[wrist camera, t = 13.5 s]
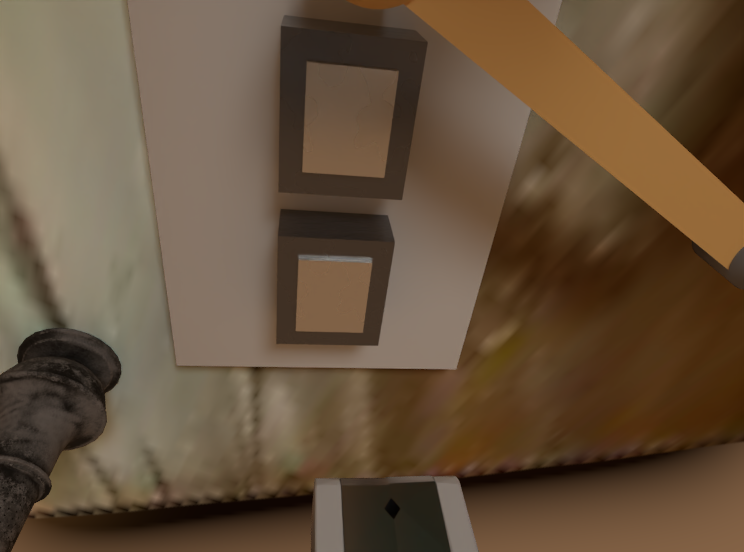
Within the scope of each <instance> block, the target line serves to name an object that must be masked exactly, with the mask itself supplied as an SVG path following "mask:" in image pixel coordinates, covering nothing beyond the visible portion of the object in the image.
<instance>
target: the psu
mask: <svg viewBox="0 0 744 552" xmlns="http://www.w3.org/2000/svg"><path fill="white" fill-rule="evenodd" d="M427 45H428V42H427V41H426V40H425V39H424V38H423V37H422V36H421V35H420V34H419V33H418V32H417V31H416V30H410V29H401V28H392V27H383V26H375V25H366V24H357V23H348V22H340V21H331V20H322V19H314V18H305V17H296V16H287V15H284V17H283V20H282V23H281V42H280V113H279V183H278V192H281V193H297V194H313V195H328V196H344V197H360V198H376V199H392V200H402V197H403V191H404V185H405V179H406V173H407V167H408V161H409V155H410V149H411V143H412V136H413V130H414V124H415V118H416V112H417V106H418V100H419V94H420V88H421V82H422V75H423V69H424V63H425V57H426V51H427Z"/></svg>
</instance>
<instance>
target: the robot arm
mask: <svg viewBox="0 0 744 552" xmlns="http://www.w3.org/2000/svg"><path fill="white" fill-rule="evenodd" d="M311 552H478V548H477V544H476V541H475V537H474V534H473V530H472V526H471V523H470V519H469V515H468V511H467V508H466V504H465V500H464V497H463V493H462V490H461V486H460V482H459V480H458V479H457V477H455V476H435V477H431V476H413V477H386V478H340V479H339V478H316V479H315V482H314V494H313V507H312V526H311Z"/></svg>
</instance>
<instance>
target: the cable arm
mask: <svg viewBox="0 0 744 552" xmlns="http://www.w3.org/2000/svg"><path fill="white" fill-rule="evenodd" d="M346 1H348V2H350V3H352V4H354V5H357V6H360V7H363V8H369V9H388V8H393V7H396V6H400V5H402V4H404V5H405V6H406V7H407V8H409V9H410V10H411V11H412V12H414V13H415V14H416V15H417V16H418V17H420V18H421V19H422V20H423V21H425V22H426V23H427V24H428V25H429V26H431V27H432V28H433V29H434V30H436V31H437V32H438V33H439V34H440V35H442V36H443V37H444V38H445V39H447V40H448V41H449V42H450V43H451V44H453V45H454V46H455V47H456V48H458V49H459V50H460V51H461V52H462V53H464V54H465V55H466V56H467V57H469V58H470V59H471V60H472V61H473V62H475V63H476V64H477V65H478V66H480V67H481V68H482V69H483V70H484V71H486V72H487V73H488V74H489V75H491V76H492V77H493V78H494V79H495V80H497V81H498V82H499V83H500V84H502V85H503V86H504V87H505V88H506V89H508V90H509V91H510V92H511V93H513V94H514V95H515V96H516V97H517V98H519V99H520V100H521V101H522V102H524V103H525V104H526V105H527V106H528V107H530V108H531V109H532V110H533V111H535V112H536V113H537V114H538V115H539V116H541V117H542V118H543V119H544V120H546V121H547V122H548V123H549V124H550V125H552V126H553V127H554V128H555V129H557V130H558V131H559V132H560V133H561V134H563V135H564V136H565V137H566V138H568V139H569V140H570V141H571V142H572V143H574V144H575V145H576V146H577V147H579V148H580V149H581V150H582V151H583V152H585V153H586V154H587V155H588V156H590V157H591V158H592V159H593V160H594V161H596V162H597V163H598V164H599V165H601V166H602V167H603V168H604V169H605V170H607V171H608V172H609V173H610V174H612V175H613V176H614V177H615V178H616V179H618V180H619V181H620V182H621V183H623V184H624V185H625V186H626V187H627V188H629V189H630V190H631V191H632V192H634V193H635V194H636V195H637V196H638V197H640V198H641V199H642V200H643V201H645V202H646V203H647V204H648V205H649V206H651V207H652V208H653V209H654V210H656V211H657V212H658V213H659V214H660V215H662V216H663V217H664V218H665V219H667V220H668V221H669V222H670V223H671V224H673V225H674V226H675V227H676V228H678V229H679V230H680V231H681V232H682V233H684V234H685V235H686V236H687V237H689V238H690V239H691V240H692V248H693V250H694V252H695V253H696V254H697V255H699V256H700V257H701V258H702V259H703V260H705V261H706V262H707V263H708V264H709V265H710V266H712V267H713V268H714V269H715V270H716V271H718V272H719V273H720V274H721V275H722V276H724V277H725V278H726V279H727V280H728V281H729V282H731V283H732V284H733V285H734V286H736V287H737V288H740V289H744V203H743V202H742V201H741V200H740V199H739V198H738V197H737V196H736V195H735V194H734V193H733V192H731V191H730V190H729V189H728V188H727V187H726V186H725V185H724V184H723V183H722V182H721V181H720V180H719V179H718V178H717V177H715V176H714V175H713V174H712V173H711V172H710V171H709V170H708V169H707V168H706V167H705V166H704V165H703V164H702V163H701V162H699V161H698V160H697V159H696V158H695V157H694V156H693V155H692V154H691V153H690V152H689V151H688V150H687V149H686V148H685V147H683V146H682V145H681V144H680V143H679V142H678V141H677V140H676V139H675V138H674V137H673V136H672V135H671V134H670V133H669V132H668V131H666V130H665V129H664V128H663V127H662V126H661V125H660V124H659V123H658V122H657V121H656V120H655V119H654V118H653V117H652V116H650V115H649V114H648V113H647V112H646V111H645V110H644V109H643V108H642V107H641V106H640V105H639V104H638V103H637V102H636V101H634V100H633V99H632V98H631V97H630V96H629V95H628V94H627V93H626V92H625V91H624V90H623V89H622V88H621V87H620V86H618V85H617V84H616V83H615V82H614V81H613V80H612V79H611V78H610V77H609V76H608V75H607V74H606V73H605V72H604V71H602V70H601V69H600V68H599V67H598V66H597V65H596V64H595V63H594V62H593V61H592V60H591V59H590V58H589V57H588V56H587V55H585V54H584V53H583V52H582V51H581V50H580V49H579V48H578V47H577V46H576V45H575V44H574V43H573V42H572V41H571V40H569V39H568V38H567V37H566V36H565V35H564V34H563V33H562V32H561V31H560V30H559V29H558V28H557V27H556V26H555V25H553V24H552V23H551V22H550V21H549V20H548V19H547V18H546V17H545V16H544V15H543V14H542V13H541V12H540V11H539V10H537V9H536V8H535V7H534V6H533V5H532V4H531V3H530V2H529V1H528V0H346Z"/></svg>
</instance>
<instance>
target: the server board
mask: <svg viewBox="0 0 744 552" xmlns="http://www.w3.org/2000/svg"><path fill="white" fill-rule="evenodd" d="M528 1H529V2H530V3H531V4H532V5H533V6H534V7H535V8H536V9H537V10H539V11H540V12H541V13H542V14H543V15H544V16H545V17H546V18H547V19H548V20H549V21H550V22H551V23H552V24H553V25H555V24H556V20H557V17H558V13H559V10H560V6H561V3H562V0H528ZM127 2H128V10H129V17H130V25H131V32H132V39H133V47H134V54H135V61H136V69H137V76H138V83H139V91H140V98H141V106H142V113H143V120H144V128H145V135H146V142H147V150H148V157H149V164H150V172H151V179H152V187H153V194H154V201H155V209H156V216H157V223H158V231H159V238H160V246H161V253H162V260H163V268H164V275H165V282H166V290H167V297H168V304H169V312H170V319H171V327H172V334H173V341H174V349H175V356H176V363H177V366H242V367H319V368H395V369H456V367H457V364H458V360H459V357H460V354H461V350H462V347H463V343H464V340H465V336H466V333H467V329H468V326H469V322H470V319H471V315H472V312H473V308H474V305H475V301H476V298H477V295H478V291H479V288H480V284H481V281H482V277H483V274H484V270H485V267H486V263H487V260H488V256H489V253H490V249H491V246H492V242H493V239H494V236H495V232H496V229H497V225H498V222H499V218H500V215H501V211H502V208H503V204H504V201H505V197H506V194H507V190H508V187H509V183H510V180H511V177H512V173H513V170H514V166H515V163H516V159H517V156H518V152H519V149H520V145H521V142H522V138H523V135H524V131H525V128H526V124H527V121H528V118H529V114H530V111H531V108H530V107H528V106H527V105H526V104H525V103H524V102H522V101H521V100H520V99H519V98H517V97H516V96H515V95H514V94H513V93H511V92H510V91H509V90H508V89H506V88H505V87H504V86H503V85H502V84H500V83H499V82H498V81H497V80H495V79H494V78H493V77H492V76H491V75H489V74H488V73H487V72H486V71H484V70H483V69H482V68H481V67H480V66H478V65H477V64H476V63H475V62H473V61H472V60H471V59H470V58H469V57H467V56H466V55H465V54H464V53H462V52H461V51H460V50H459V49H458V48H456V47H455V46H454V45H453V44H451V43H450V42H449V41H448V40H447V39H445V38H444V37H443V36H442V35H440V34H439V33H438V32H437V31H436V30H434V29H433V28H432V27H431V26H429V25H428V24H427V23H426V22H425V21H423V20H422V19H421V18H420V17H418V16H417V15H416V14H415V13H414V12H412V11H411V10H410V9H409V8H407V7H406V6H405V5H404V4H402V5H400V6H396V7H393V8H388V9H369V8H363V7H360V6H357V5H354V4H352V3H350V2H348V1H346V0H127ZM284 15H287V16H296V17H305V18H314V19H322V20H331V21H340V22H348V23H357V24H366V25H375V26H383V27H392V28H401V29H410V30H416V31H417V32H418V33H419V34H420V35H421V36H422V37H423V38H424V39H425V40H426V41H427V42H428V45H427V51H426V57H425V63H424V69H423V75H422V82H421V88H420V94H419V100H418V106H417V112H416V118H415V124H414V130H413V136H412V143H411V149H410V155H409V161H408V167H407V173H406V179H405V185H404V191H403V197H402V200H392V199H376V198H360V197H344V196H328V195H313V194H297V193H281V192H278V183H279V113H280V42H281V23H282V20H283V17H284ZM281 209H290V210H307V211H324V212H341V213H358V214H375V215H388V217H389V221H390V225H391V229H392V232H393V236H394V240H395V246H394V252H393V258H392V265H391V271H390V277H389V283H388V289H387V295H386V301H385V307H384V313H383V319H382V326H381V332H380V338H379V344H378V346H359V345H309V344H276V325H277V254H278V229H279V220H280V211H281Z"/></svg>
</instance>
